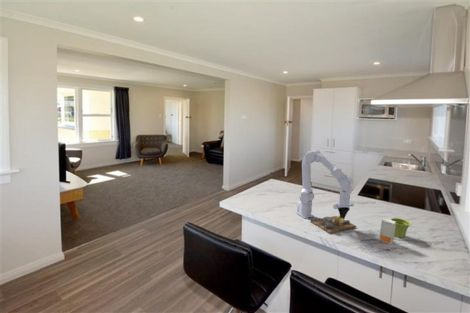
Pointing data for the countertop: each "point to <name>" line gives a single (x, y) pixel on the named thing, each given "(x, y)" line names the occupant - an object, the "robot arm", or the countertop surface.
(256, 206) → the countertop surface
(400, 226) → the plant pot
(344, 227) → the board
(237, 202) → the countertop surface
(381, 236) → the skincare box
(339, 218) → the leg
